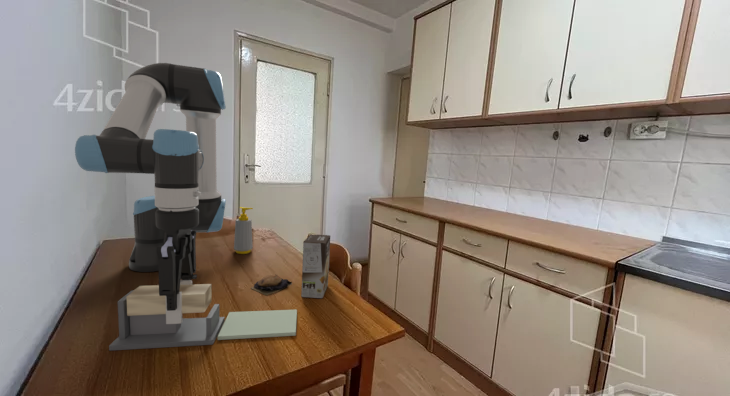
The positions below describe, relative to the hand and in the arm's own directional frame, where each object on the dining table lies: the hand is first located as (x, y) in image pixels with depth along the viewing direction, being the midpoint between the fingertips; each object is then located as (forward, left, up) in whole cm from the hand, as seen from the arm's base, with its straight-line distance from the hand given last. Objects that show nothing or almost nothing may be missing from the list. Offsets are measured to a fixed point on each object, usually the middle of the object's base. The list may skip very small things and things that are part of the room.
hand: (180, 315), depth 64 cm
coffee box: (-19, +29, -4) cm, 35 cm away
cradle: (0, -2, -4) cm, 5 cm away
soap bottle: (-56, +2, -4) cm, 56 cm away
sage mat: (-2, +16, -4) cm, 17 cm away
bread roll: (-23, +16, -5) cm, 29 cm away
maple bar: (0, -2, +2) cm, 2 cm away
